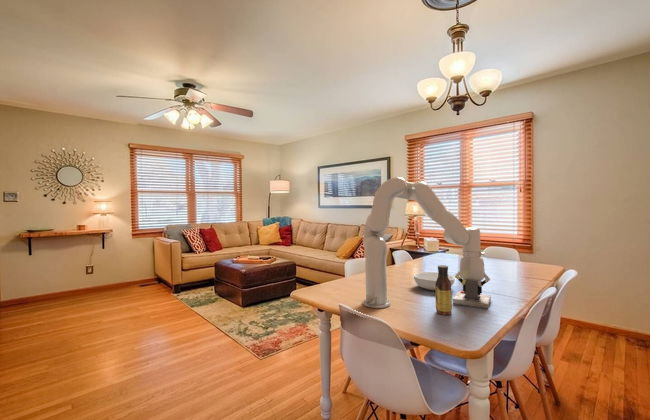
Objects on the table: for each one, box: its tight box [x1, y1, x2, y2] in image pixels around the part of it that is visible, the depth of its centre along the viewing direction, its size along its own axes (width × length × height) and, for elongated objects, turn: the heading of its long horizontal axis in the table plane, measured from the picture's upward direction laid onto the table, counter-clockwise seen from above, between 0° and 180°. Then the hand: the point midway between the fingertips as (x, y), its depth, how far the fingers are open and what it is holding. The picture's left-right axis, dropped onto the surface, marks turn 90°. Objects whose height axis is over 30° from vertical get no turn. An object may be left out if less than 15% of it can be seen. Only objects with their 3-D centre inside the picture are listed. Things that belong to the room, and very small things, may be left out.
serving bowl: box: [413, 271, 456, 291], centre depth 166 cm, size 21×21×7 cm
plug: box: [465, 279, 479, 298], centre depth 141 cm, size 5×5×7 cm
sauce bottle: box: [434, 264, 453, 316], centre depth 128 cm, size 6×6×20 cm
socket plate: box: [452, 290, 492, 310], centre depth 141 cm, size 14×14×3 cm
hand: (472, 293), depth 141 cm, fingers closed on plug, 5 cm apart
